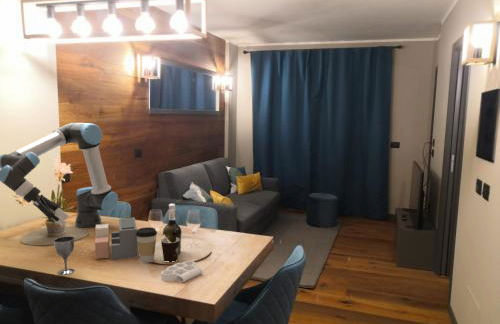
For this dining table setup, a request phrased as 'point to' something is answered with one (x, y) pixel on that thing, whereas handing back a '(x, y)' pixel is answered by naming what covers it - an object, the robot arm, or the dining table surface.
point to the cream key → (102, 231)
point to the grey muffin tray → (181, 272)
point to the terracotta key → (101, 248)
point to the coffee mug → (170, 250)
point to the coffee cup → (146, 243)
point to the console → (124, 240)
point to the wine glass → (64, 251)
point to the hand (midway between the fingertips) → (65, 221)
